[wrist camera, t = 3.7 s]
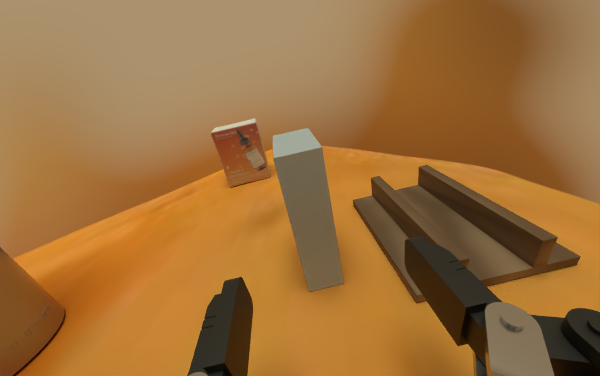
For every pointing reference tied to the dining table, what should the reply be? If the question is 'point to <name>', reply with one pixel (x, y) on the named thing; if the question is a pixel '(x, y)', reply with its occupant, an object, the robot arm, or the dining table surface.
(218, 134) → the small box
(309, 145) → the grey rectangular block
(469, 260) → the rack
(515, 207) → the dining table surface
